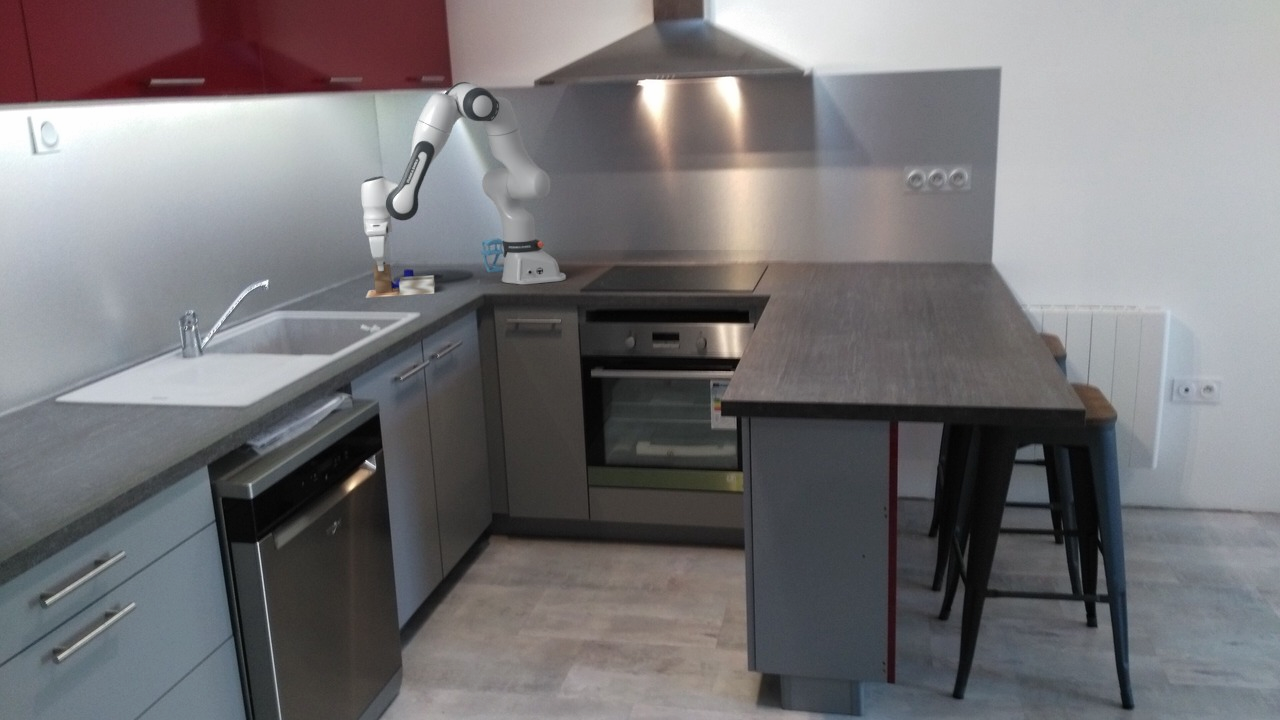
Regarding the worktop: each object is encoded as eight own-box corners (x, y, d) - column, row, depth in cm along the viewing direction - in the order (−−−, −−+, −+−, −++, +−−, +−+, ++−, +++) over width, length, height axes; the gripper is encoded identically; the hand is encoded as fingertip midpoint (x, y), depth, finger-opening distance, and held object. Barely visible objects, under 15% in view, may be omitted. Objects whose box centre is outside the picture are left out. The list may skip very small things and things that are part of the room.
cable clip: (405, 285, 372) (404, 268, 371) (414, 286, 370) (413, 269, 368) (379, 291, 363) (377, 274, 362) (387, 292, 361) (386, 275, 359)
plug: (392, 290, 356) (389, 264, 354) (391, 292, 353) (389, 265, 350) (376, 291, 355) (373, 265, 353) (375, 293, 352) (373, 266, 350)
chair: (499, 267, 403) (496, 236, 400) (507, 270, 396) (505, 238, 393) (480, 269, 399) (477, 238, 396) (488, 272, 392) (486, 240, 389)
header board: (435, 289, 363) (433, 274, 362) (434, 296, 350) (433, 281, 349) (369, 293, 360) (367, 278, 358) (365, 300, 347) (364, 285, 346)
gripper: (370, 223, 358) (374, 264, 361) (365, 231, 338) (369, 274, 342) (389, 222, 359) (393, 263, 362) (385, 230, 339) (389, 273, 343)
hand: (381, 268), depth 352 cm, fingers open, 6 cm apart
